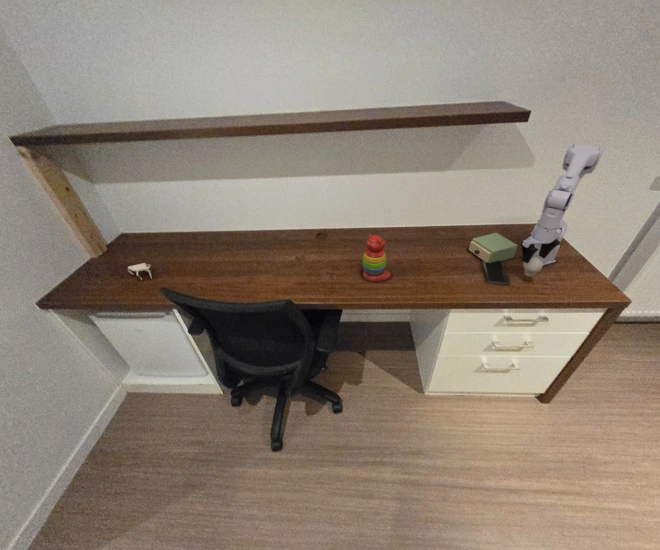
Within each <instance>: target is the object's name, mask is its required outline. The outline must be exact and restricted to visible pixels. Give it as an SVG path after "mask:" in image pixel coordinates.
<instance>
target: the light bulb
mask: <svg viewBox="0 0 660 550" xmlns="http://www.w3.org/2000/svg"><path fill="white" fill-rule="evenodd" d="M543 266H544V265H543V263H542V261H541V260H540V259H539V258H537V257H532V258H531V260H530V261H529V263H525V262H524V261H523V263H522V267H523V269H524V272H523V273H524V274H523V277H522V278H523V280H524V281H527V282H528V281H531V280H532V278H534V276H535V274H537V273H539V272H540V271H541V270H542V269H543Z"/></svg>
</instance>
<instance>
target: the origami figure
mask: <svg viewBox="0 0 660 550" xmlns="http://www.w3.org/2000/svg"><path fill="white" fill-rule="evenodd" d="M151 266H152V264H148V263H146V262H143V263H138V264H134V265H129V266H127V272H128V273H130V274H131V275H136V276H137V277H138V278H139V279H140V281H143V277H141V276H140V275H139V272H143V271H145V272H148V274H149V277H150V279H153V276H152V273H151V270H150V267H151ZM132 271H133V272H136V274H135V273H133V272H132Z"/></svg>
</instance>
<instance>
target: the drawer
mask: <svg viewBox="0 0 660 550" xmlns="http://www.w3.org/2000/svg"><path fill="white" fill-rule="evenodd" d="M468 251H470V252H471V253H472V254H473V255H474V256H476V257H478V258H479V259H480V260H481V261H482V260H483V261H485V262H488V261H489V258H490V255H491V252H490V251H488V250H487V249H485V248H484V247H482V246H481V245H479V244H478V243H476V242H474V241H472V240H471V241H470V242H469V247H468Z"/></svg>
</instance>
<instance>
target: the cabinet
mask: <svg viewBox="0 0 660 550" xmlns="http://www.w3.org/2000/svg"><path fill="white" fill-rule="evenodd" d="M471 239H472V240H471V241H474V242H476V243H478V244H479V245H481V246H482V247H484V248H485V249H487V250H488V251H490V252H491V255H490V258H489V261H488V263H492V262H495V261H502V262H503V261H506V260H509V259H513V258H515V256H516V255H515V254H516V253H517V249H518V244H516V243H515V242H513V241H512V240H510V239H508V238H507V237H505V236H503V235H501V234H500V233H498V232H493V233H489V234H486V235H481V236H477V237H473V238H471Z"/></svg>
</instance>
